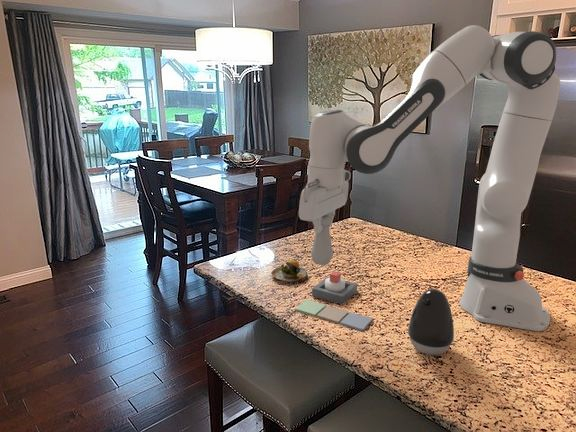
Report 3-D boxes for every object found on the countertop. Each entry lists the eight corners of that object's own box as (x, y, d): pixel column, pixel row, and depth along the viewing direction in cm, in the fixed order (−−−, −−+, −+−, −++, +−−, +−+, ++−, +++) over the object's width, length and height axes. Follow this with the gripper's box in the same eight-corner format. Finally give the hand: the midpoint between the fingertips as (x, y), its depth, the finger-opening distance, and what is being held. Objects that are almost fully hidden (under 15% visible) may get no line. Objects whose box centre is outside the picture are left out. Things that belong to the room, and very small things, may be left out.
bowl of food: (266, 273, 146) (266, 252, 144) (299, 268, 150) (299, 248, 148) (279, 288, 135) (279, 265, 133) (313, 282, 140) (313, 260, 137)
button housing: (356, 291, 132) (357, 283, 132) (342, 304, 124) (342, 296, 124) (327, 283, 138) (327, 276, 137) (312, 296, 130) (312, 288, 129)
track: (372, 320, 116) (372, 318, 116) (362, 331, 111) (362, 329, 110) (306, 301, 126) (306, 299, 126) (294, 310, 121) (294, 308, 121)
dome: (348, 290, 132) (348, 272, 130) (339, 298, 127) (339, 279, 125) (330, 286, 135) (330, 268, 133) (321, 293, 130) (321, 274, 128)
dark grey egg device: (398, 348, 103) (402, 290, 99) (420, 332, 110) (425, 276, 106) (438, 367, 96) (445, 305, 92) (459, 348, 103) (466, 289, 99)
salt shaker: (332, 258, 118) (335, 212, 114) (332, 267, 113) (335, 219, 109) (311, 257, 119) (312, 211, 115) (310, 265, 113) (311, 218, 109)
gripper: (316, 185, 99) (314, 242, 103) (353, 172, 115) (350, 221, 119) (293, 182, 102) (291, 237, 106) (332, 169, 119) (329, 217, 123)
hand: (323, 229), depth 113 cm, fingers closed on salt shaker, 4 cm apart
